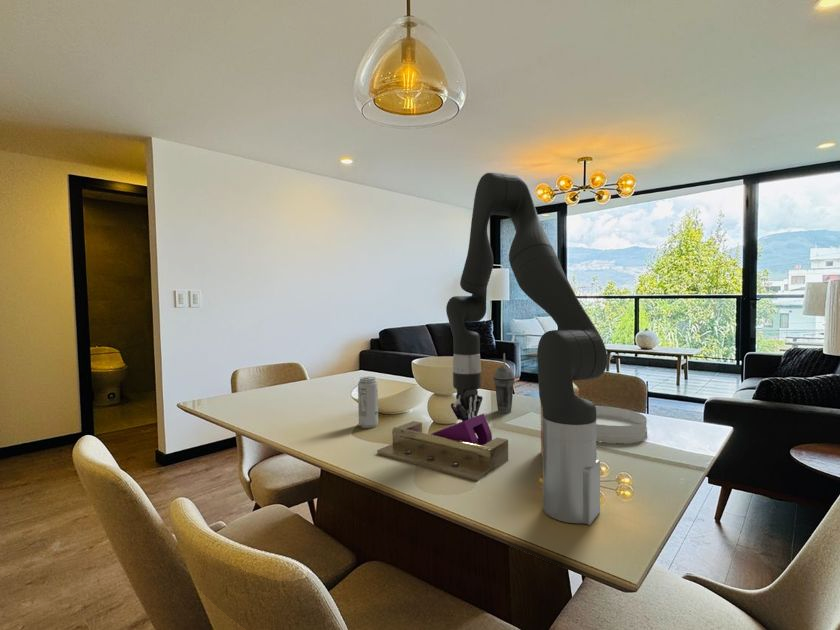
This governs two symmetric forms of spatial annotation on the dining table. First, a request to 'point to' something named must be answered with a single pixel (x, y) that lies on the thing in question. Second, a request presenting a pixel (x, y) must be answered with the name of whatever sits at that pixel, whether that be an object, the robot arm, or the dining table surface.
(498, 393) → the beverage cup
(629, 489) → the dining table surface
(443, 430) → the mounting bracket
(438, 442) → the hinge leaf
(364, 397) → the energy drink can
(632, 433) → the dish
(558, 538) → the dining table surface
